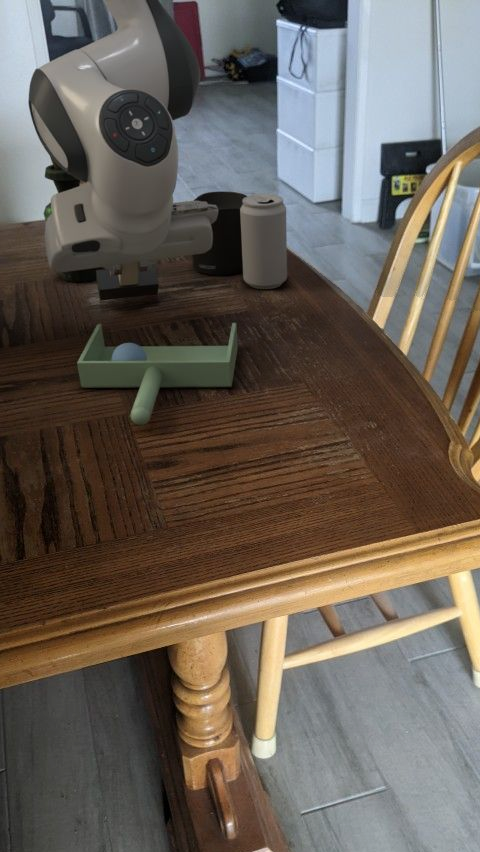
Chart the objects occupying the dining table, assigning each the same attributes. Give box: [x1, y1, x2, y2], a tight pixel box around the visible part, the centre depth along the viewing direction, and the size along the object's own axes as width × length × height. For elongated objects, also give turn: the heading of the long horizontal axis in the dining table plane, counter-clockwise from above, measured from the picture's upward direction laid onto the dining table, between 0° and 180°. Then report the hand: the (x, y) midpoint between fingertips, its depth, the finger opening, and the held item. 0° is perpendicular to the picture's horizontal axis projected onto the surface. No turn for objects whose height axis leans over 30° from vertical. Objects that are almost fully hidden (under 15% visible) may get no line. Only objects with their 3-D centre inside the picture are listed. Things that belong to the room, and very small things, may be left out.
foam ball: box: [112, 342, 147, 361], centre depth 89 cm, size 4×4×4 cm
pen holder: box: [191, 190, 248, 277], centre depth 117 cm, size 9×9×10 cm
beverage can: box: [240, 193, 288, 290], centre depth 111 cm, size 6×6×12 cm
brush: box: [96, 262, 160, 302], centre depth 103 cm, size 8×3×13 cm
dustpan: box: [76, 322, 239, 426], centre depth 87 cm, size 20×17×3 cm
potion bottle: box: [43, 156, 105, 283], centre depth 113 cm, size 8×8×18 cm
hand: (129, 268), depth 102 cm, fingers closed on brush, 2 cm apart
